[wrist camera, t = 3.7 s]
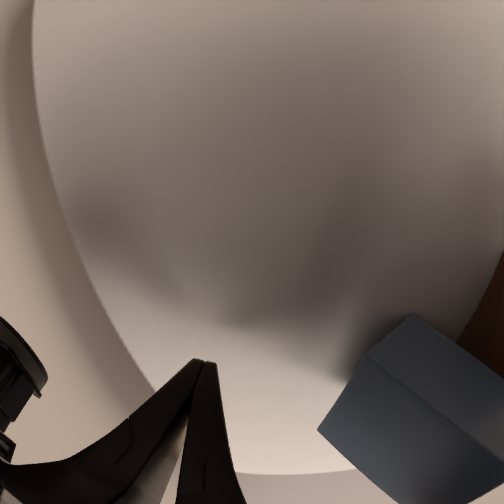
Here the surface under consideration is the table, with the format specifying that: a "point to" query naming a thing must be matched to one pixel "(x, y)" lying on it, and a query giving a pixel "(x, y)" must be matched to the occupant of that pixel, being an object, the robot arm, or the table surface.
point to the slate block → (422, 419)
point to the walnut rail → (488, 326)
